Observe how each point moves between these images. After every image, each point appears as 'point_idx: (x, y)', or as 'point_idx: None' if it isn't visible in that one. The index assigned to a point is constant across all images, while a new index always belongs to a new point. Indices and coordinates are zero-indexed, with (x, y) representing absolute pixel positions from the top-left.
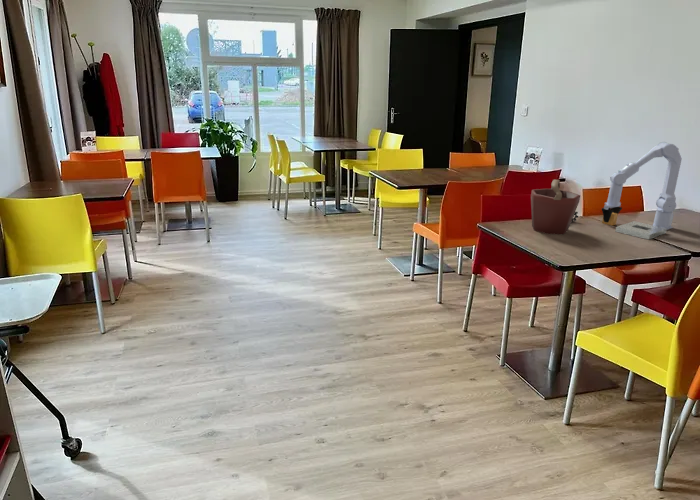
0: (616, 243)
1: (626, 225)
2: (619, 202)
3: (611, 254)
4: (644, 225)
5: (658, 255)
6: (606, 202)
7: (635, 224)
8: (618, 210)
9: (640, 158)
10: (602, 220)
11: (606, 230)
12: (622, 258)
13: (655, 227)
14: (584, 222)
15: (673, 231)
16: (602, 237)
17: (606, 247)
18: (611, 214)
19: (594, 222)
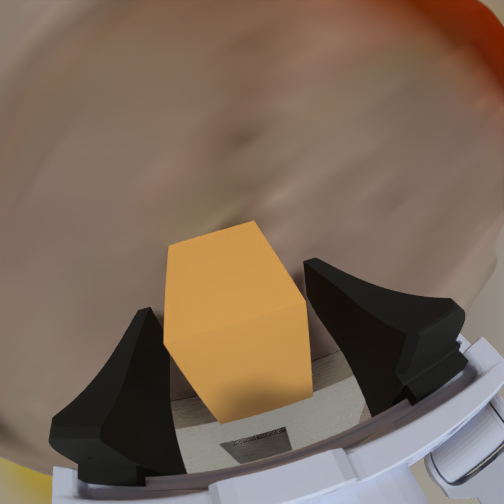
0: (42, 449)
1: (208, 434)
2: (497, 391)
3: (9, 454)
4: (319, 425)
5: None
6: (336, 488)
7: (293, 420)
8: (366, 395)
9: None
10: (168, 262)
11: (70, 387)
12: (24, 465)
13: (328, 437)
14: (6, 177)
15: None
16: (14, 418)
17: (7, 443)
18: (208, 405)
19: (106, 197)
